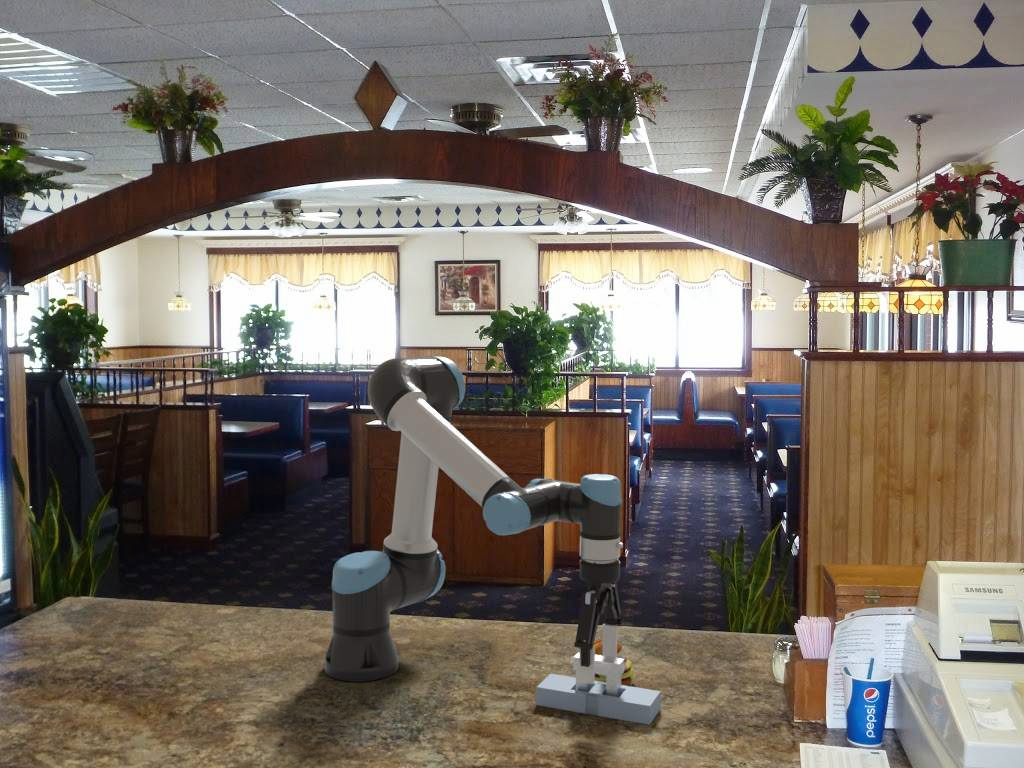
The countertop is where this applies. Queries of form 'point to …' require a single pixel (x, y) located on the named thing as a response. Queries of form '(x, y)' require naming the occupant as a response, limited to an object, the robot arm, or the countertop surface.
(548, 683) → the rail
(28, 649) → the countertop surface
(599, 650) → the cheeseburger
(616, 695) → the clip
